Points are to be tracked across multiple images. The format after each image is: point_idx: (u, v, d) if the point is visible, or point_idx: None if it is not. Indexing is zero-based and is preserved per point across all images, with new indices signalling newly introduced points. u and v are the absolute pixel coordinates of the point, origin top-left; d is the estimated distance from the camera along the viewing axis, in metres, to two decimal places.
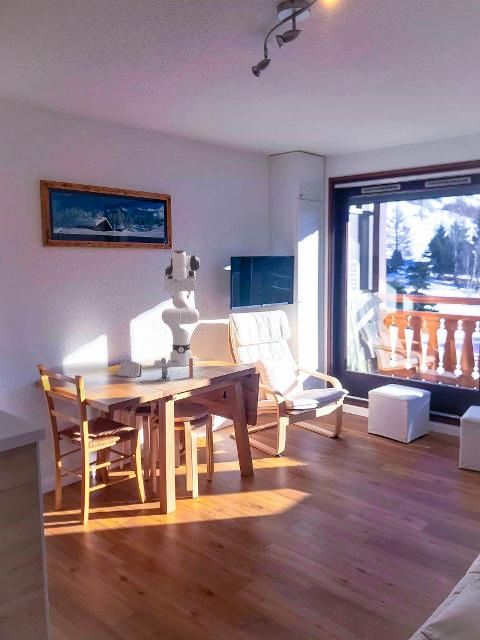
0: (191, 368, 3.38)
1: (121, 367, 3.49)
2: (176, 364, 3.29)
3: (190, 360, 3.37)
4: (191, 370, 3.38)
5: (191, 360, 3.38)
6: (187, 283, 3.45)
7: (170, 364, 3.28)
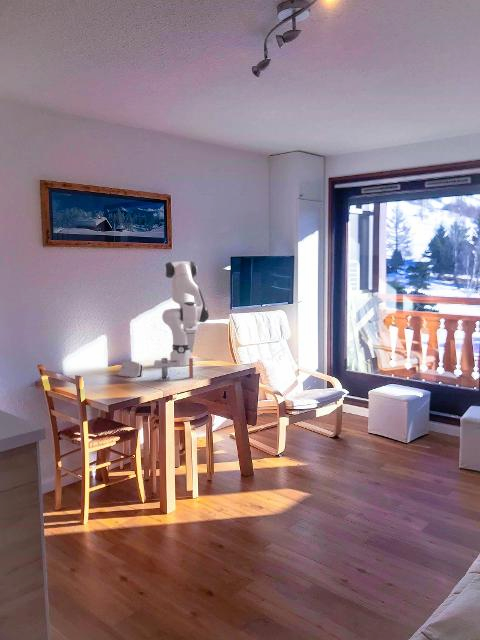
0: (190, 368, 3.38)
1: (122, 367, 3.49)
2: (176, 364, 3.29)
3: (190, 360, 3.37)
4: (191, 370, 3.38)
5: (191, 360, 3.37)
6: None
7: (170, 364, 3.28)
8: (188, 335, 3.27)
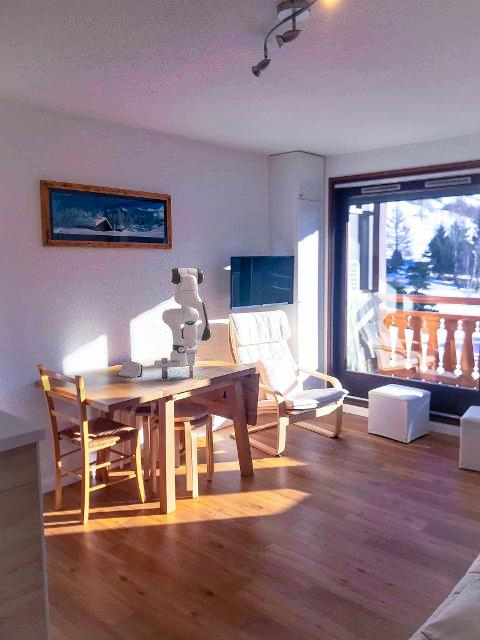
0: None
1: (123, 367, 3.49)
2: (176, 364, 3.29)
3: None
4: None
5: None
6: None
7: (170, 364, 3.28)
8: (188, 355, 3.29)
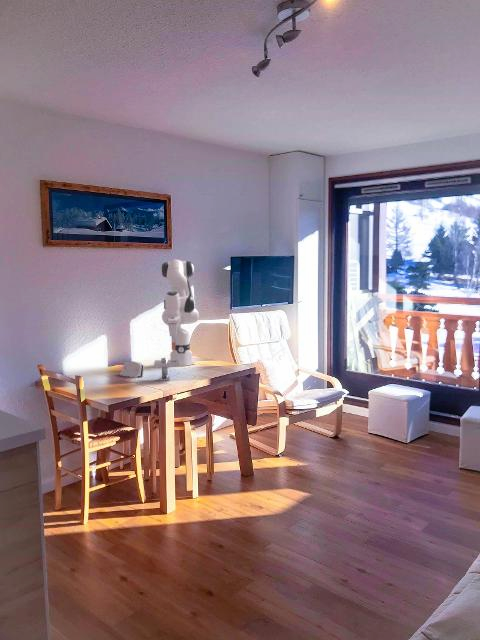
0: None
1: (124, 367, 3.49)
2: (176, 364, 3.29)
3: None
4: None
5: None
6: None
7: (170, 364, 3.28)
8: (170, 325, 3.22)
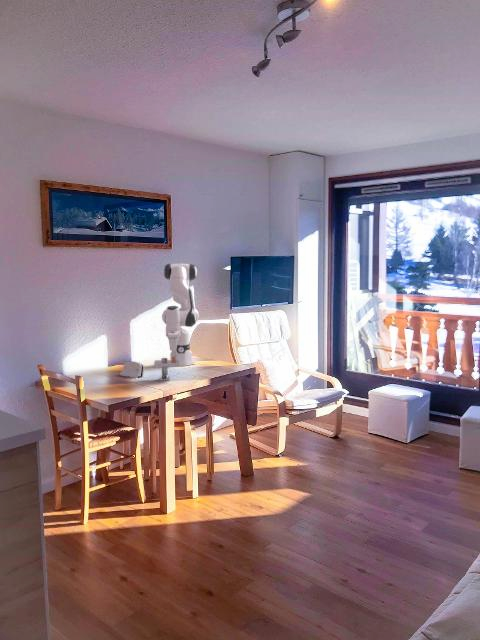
0: None
1: (125, 367, 3.49)
2: (176, 364, 3.29)
3: None
4: None
5: None
6: None
7: (170, 364, 3.28)
8: (170, 340, 3.23)
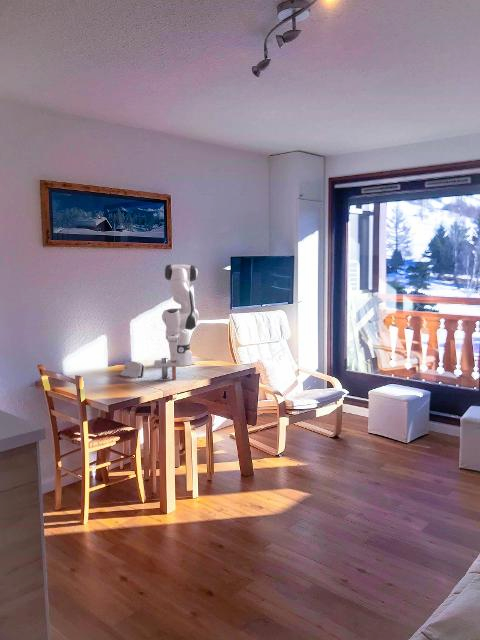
0: (173, 369, 3.33)
1: (125, 367, 3.49)
2: (176, 364, 3.29)
3: None
4: (174, 372, 3.33)
5: None
6: None
7: (170, 364, 3.28)
8: (170, 343, 3.23)
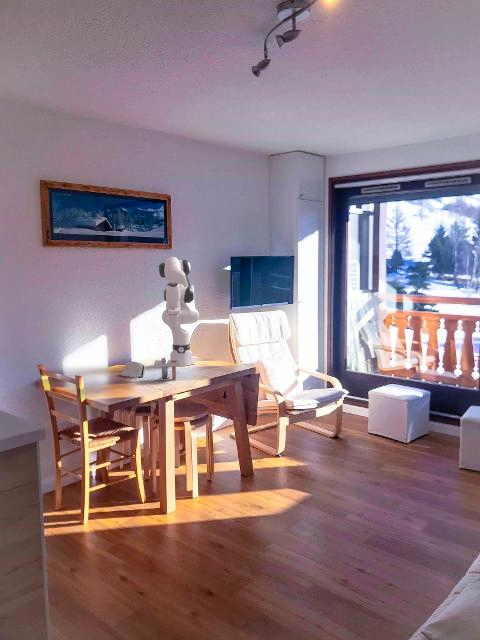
0: (173, 369, 3.33)
1: (126, 367, 3.49)
2: (176, 364, 3.29)
3: None
4: (174, 372, 3.33)
5: None
6: None
7: (170, 364, 3.28)
8: (170, 316, 3.27)
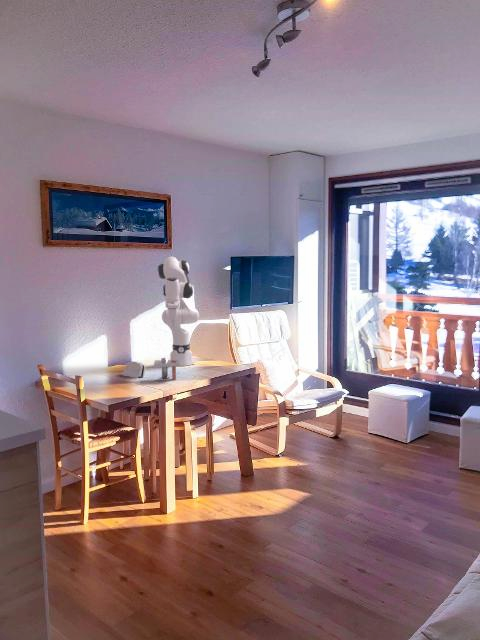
0: (173, 369, 3.33)
1: (127, 367, 3.49)
2: (176, 364, 3.29)
3: None
4: (174, 372, 3.33)
5: None
6: None
7: (170, 364, 3.28)
8: (170, 310, 3.29)
